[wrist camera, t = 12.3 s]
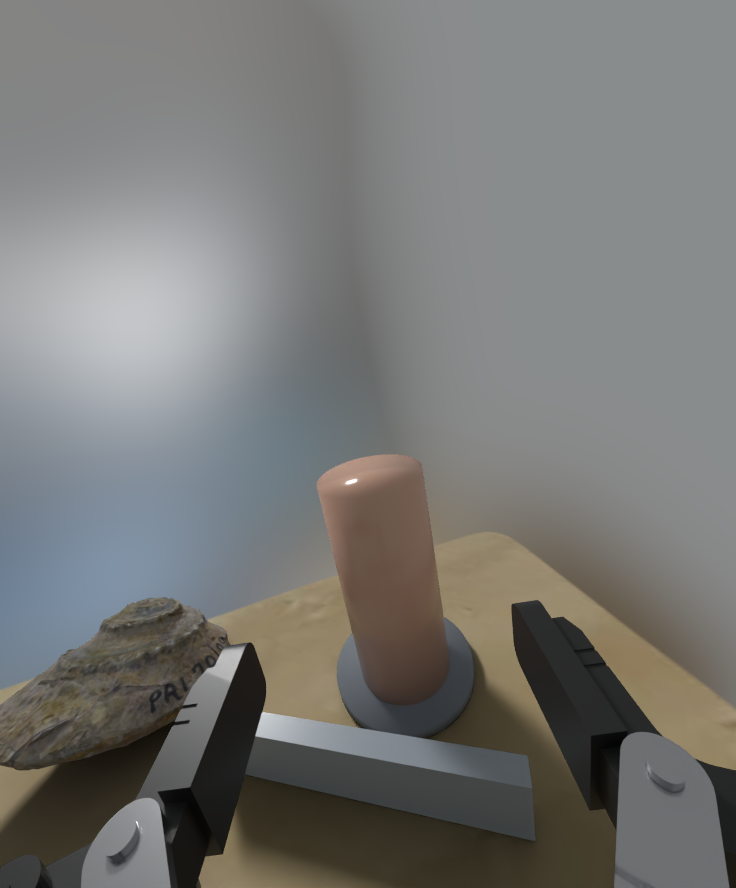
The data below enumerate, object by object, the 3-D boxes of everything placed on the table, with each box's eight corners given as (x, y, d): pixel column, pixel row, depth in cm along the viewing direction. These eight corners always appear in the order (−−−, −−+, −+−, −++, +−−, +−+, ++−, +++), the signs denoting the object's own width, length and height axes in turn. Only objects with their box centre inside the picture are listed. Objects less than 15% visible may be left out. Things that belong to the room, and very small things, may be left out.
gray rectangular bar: (225, 769, 17) (206, 726, 16) (237, 747, 18) (220, 705, 17) (535, 841, 13) (532, 788, 12) (530, 807, 14) (527, 755, 13)
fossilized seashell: (243, 700, 19) (152, 613, 17) (36, 912, 15) (-109, 829, 13) (229, 614, 28) (170, 553, 26) (101, 730, 24) (23, 667, 23)
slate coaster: (318, 727, 18) (315, 719, 18) (359, 611, 25) (358, 604, 25) (477, 754, 16) (476, 745, 16) (472, 617, 23) (471, 610, 23)
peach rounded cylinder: (350, 699, 19) (298, 500, 15) (372, 622, 23) (337, 458, 20) (448, 711, 17) (415, 495, 14) (450, 627, 22) (426, 450, 18)
